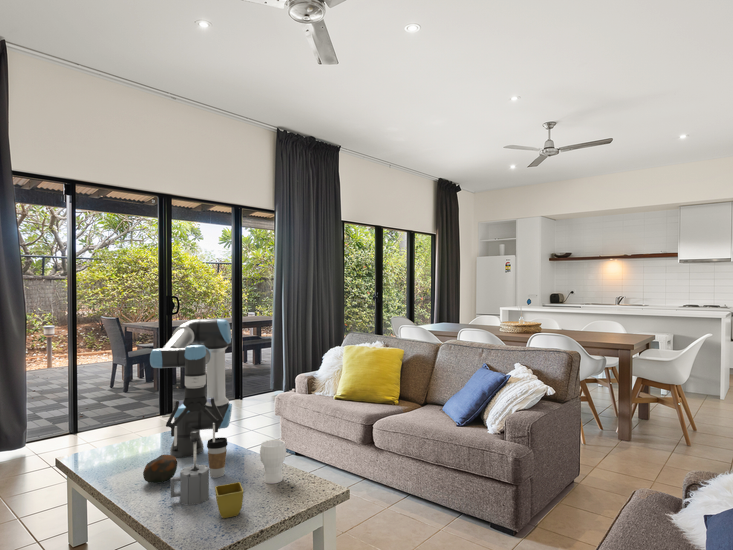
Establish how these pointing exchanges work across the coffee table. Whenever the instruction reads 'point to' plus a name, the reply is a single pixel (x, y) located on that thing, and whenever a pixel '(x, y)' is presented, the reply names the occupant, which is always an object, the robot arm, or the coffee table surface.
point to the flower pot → (229, 499)
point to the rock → (160, 469)
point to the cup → (273, 460)
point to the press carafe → (192, 485)
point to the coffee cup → (217, 456)
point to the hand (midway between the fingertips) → (194, 443)
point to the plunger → (195, 437)
